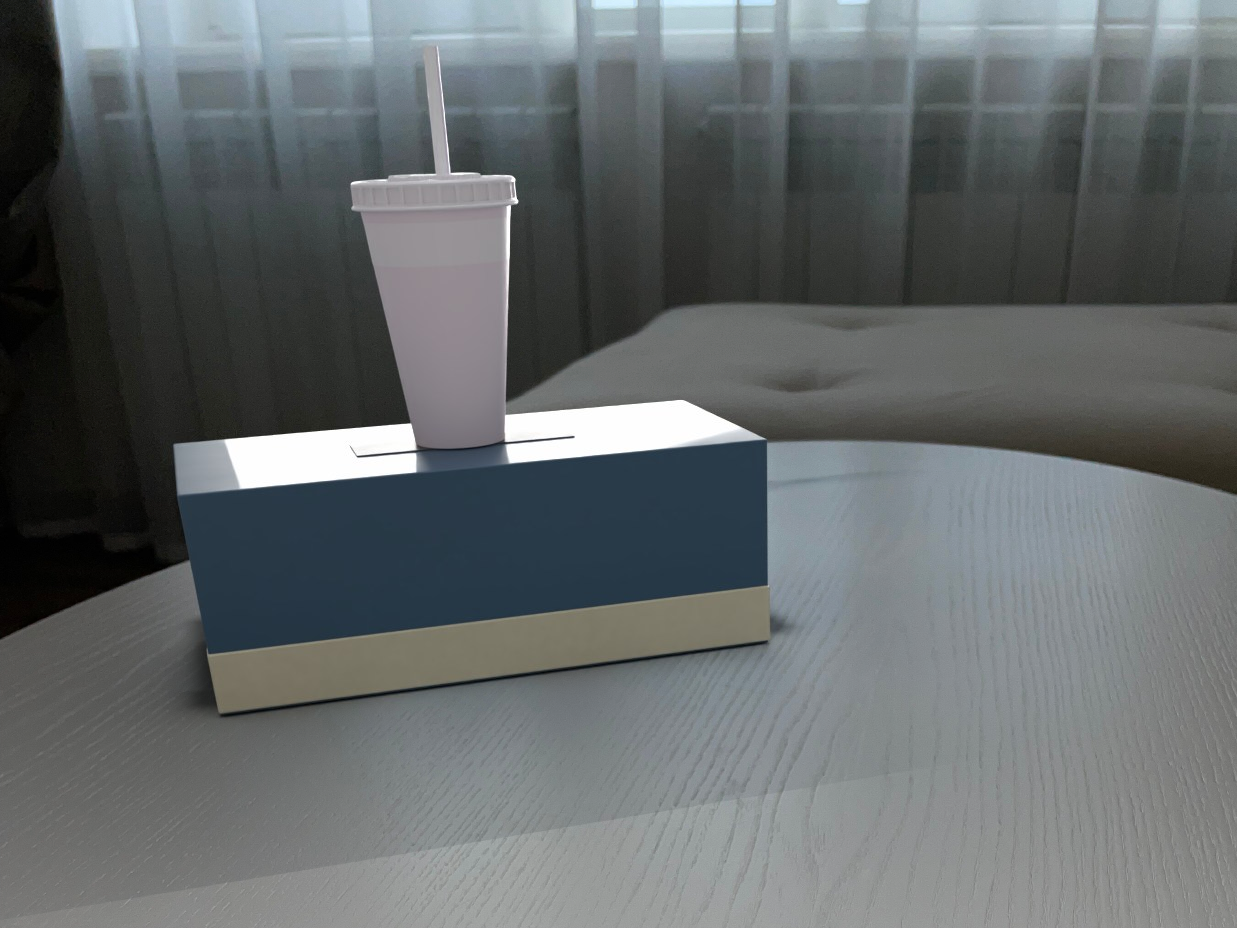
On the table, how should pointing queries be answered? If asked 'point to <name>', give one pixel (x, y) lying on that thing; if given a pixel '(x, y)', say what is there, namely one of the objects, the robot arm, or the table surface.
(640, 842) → the table surface
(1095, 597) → the table surface
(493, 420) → the smoothie
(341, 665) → the tissue box
